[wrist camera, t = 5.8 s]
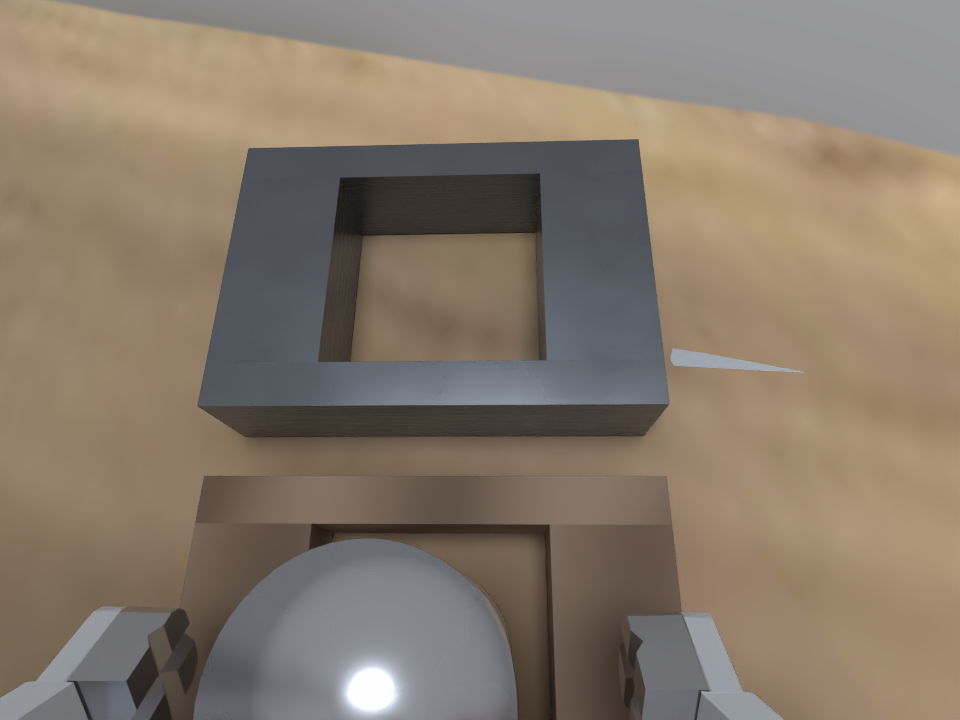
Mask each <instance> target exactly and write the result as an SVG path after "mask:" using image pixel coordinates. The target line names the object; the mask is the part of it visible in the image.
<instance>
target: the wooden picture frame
mask: <svg viewBox="0 0 960 720" xmlns="http://www.w3.org/2000/svg"><path fill="white" fill-rule="evenodd" d="M333 532H360V533H545V548H546V580H547V611H548V643H549V675H550V706H551V720H629V716H630V710H629V709H628V708H627V707H626V706H625V704H624V703H623V699H622V693H621V688H620V680H619V663H618V659H619V646H620V645H621V644H622V643H623V642H624V640H623V635H622V631H621V623H622V616H623V613H624V612H678V613H679V612H682V611H681V602H680V593H679V584H678V575H677V566H676V557H675V548H674V539H673V530H672V521H671V511H670V502H669V493H668V484H667V476H204V480H203V485H202V490H201V496H200V501H199V507H198V512H197V517H196V523H195V528H194V534H193V539H192V544H191V550H190V555H189V561H188V566H187V571H186V577H185V582H184V588H183V593H182V598H181V604H180V609H183V610H185V611H186V614H187V617H188V620H189V623H190V624H189V625H188V627H187V629H186V630H185V633H186V634H187V635H188V636H189V637H190V638H191V639H193V640H194V641H195V644H196V648H197V668H196V672H195V676H194V680H193V682H192V684H191V686H190V688H189V690H188V692H187V694H186V696H185V697H184V698H183V699H181V700H180V701H179V702H177V703H176V704H175V705H174V706H172V707H171V713H172V719H173V720H193V715H194V706H195V701H196V696H197V692H198V687H199V683H200V679H201V676H202V673H203V670H204V668H205V665H206V662H207V659H208V656H209V654H210V652H211V650H212V648H213V646H214V644H215V641H216V639H217V637H218V635H219V634H220V632H221V630H222V629H223V627H224V625H225V624H226V622H227V620H228V619H229V617H230V616H231V615H232V613H233V612H234V611H235V609H236V608H237V607H238V605H239V604H240V603H241V601H242V600H243V599H244V598H245V597H246V596H247V595H248V594H249V593H250V592H251V591H252V590H253V588H254V587H255V586H256V585H257V584H258V583H259V582H261V581H262V580H263V579H264V578H265V577H267V576H268V575H269V574H270V573H272V572H273V571H274V570H275V569H277V568H278V567H280V566H281V565H283V564H284V563H286V562H288V561H289V560H291V559H292V558H294V557H296V556H298V555H300V554H302V553H305V552H307V551H309V550H311V549H314V548H317V547H320V546H323V545H326V544H329V543H332V537H333Z"/></svg>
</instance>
